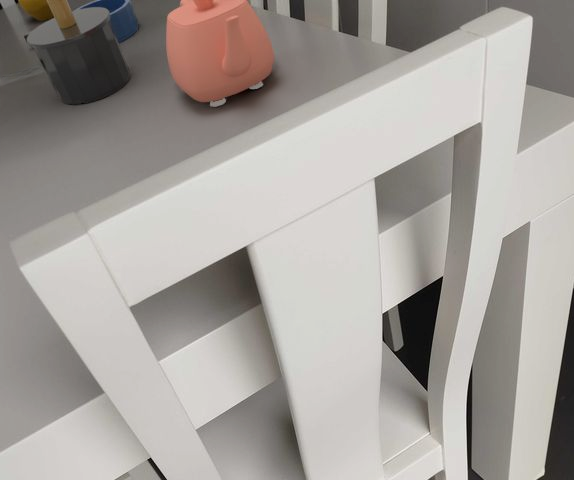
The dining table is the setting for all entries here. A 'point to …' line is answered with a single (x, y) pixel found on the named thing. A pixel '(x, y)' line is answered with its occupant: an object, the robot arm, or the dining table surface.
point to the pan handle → (26, 35)
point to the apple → (37, 9)
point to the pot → (86, 67)
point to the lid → (67, 25)
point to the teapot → (217, 48)
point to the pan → (118, 16)
